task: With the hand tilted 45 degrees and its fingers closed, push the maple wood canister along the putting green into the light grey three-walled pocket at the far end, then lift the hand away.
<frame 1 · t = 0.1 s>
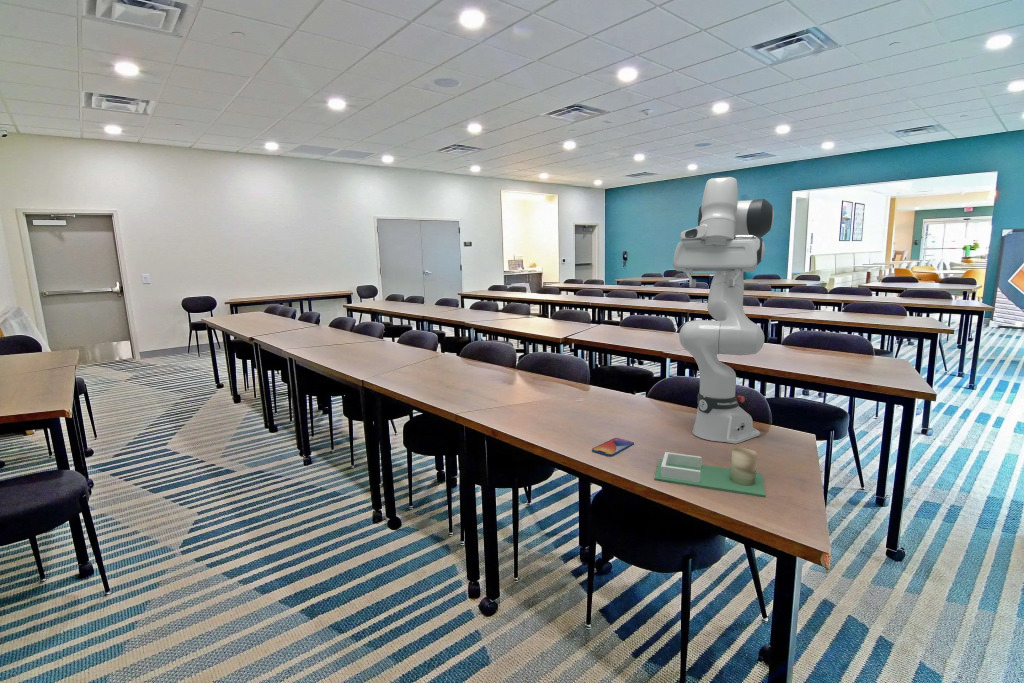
hand: (711, 287, 127), 52 cm above the table, tool tilted 20°, fingers open, 8 cm apart
smartphone: (613, 449, 158), on the table
putting green: (708, 477, 135), on the table
maple canister: (742, 480, 132), point 1 cm above the table, touching putting green
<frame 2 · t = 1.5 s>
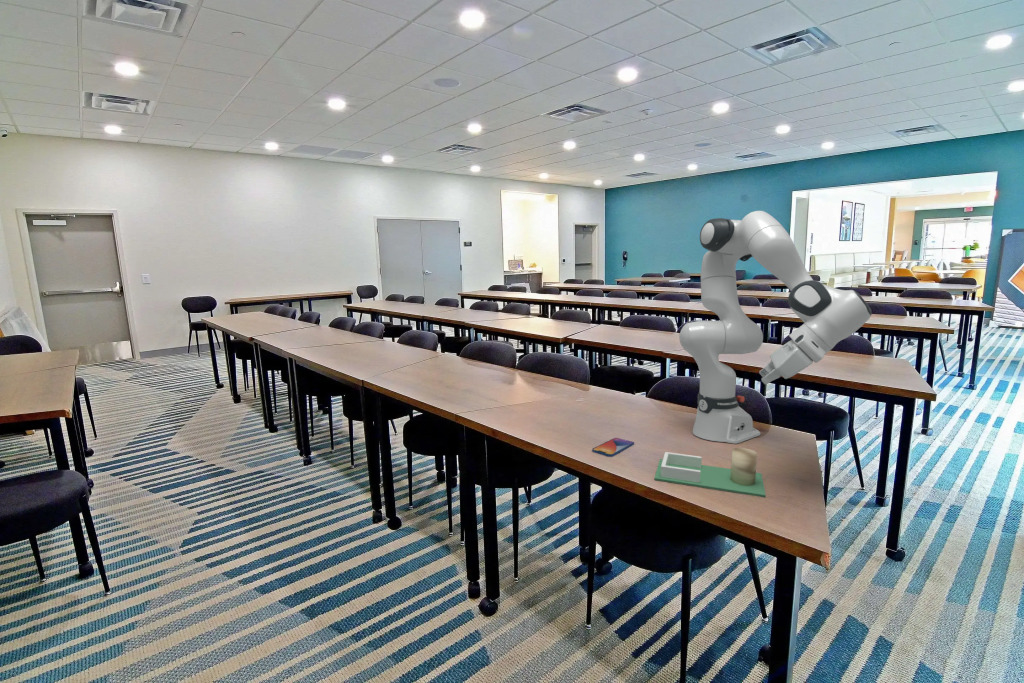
hand: (762, 378, 131), 28 cm above the table, tool tilted 45°, fingers open, 8 cm apart
nothing on the table moved.
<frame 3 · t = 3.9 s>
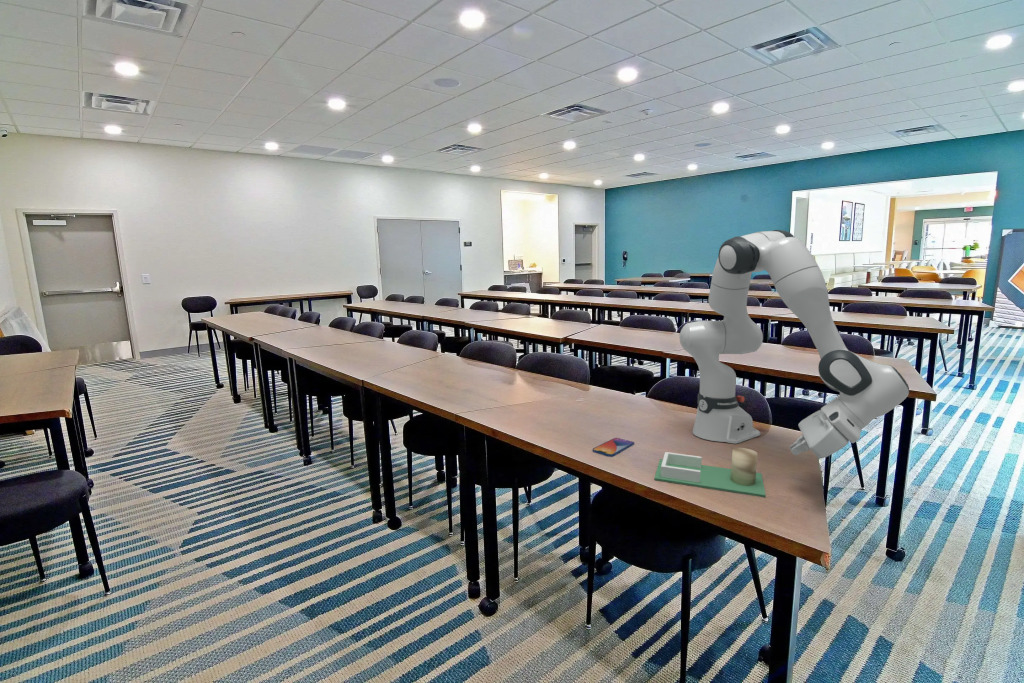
hand: (791, 451, 126), 10 cm above the table, tool tilted 45°, fingers closed
nothing on the table moved.
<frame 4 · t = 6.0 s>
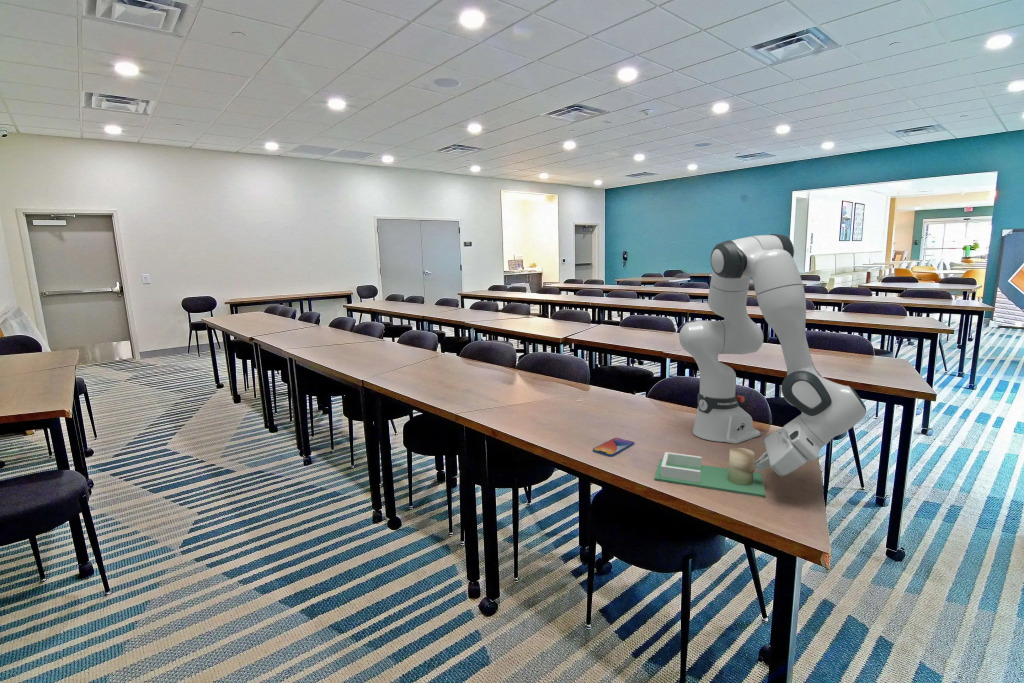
hand: (756, 467, 130), 5 cm above the table, tool tilted 45°, fingers closed, pressing on maple canister
maple canister: (740, 480, 132), point 1 cm above the table, touching gripper
everything else where it was.
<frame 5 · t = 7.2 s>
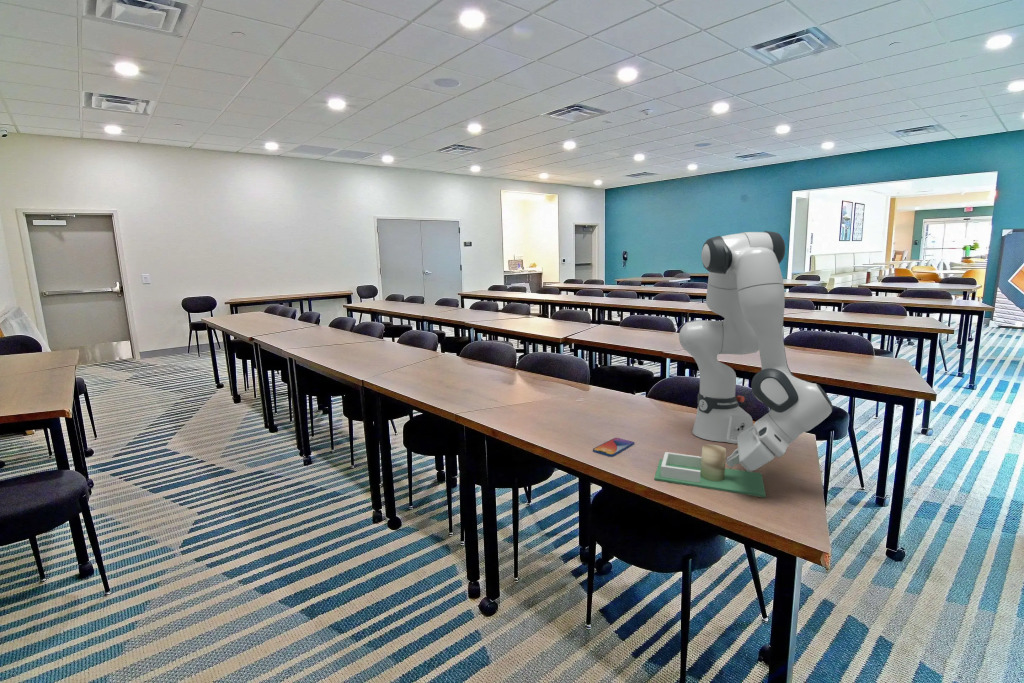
hand: (727, 463, 133), 5 cm above the table, tool tilted 45°, fingers closed
maple canister: (712, 476, 135), point 1 cm above the table, touching putting green
everything else where it was.
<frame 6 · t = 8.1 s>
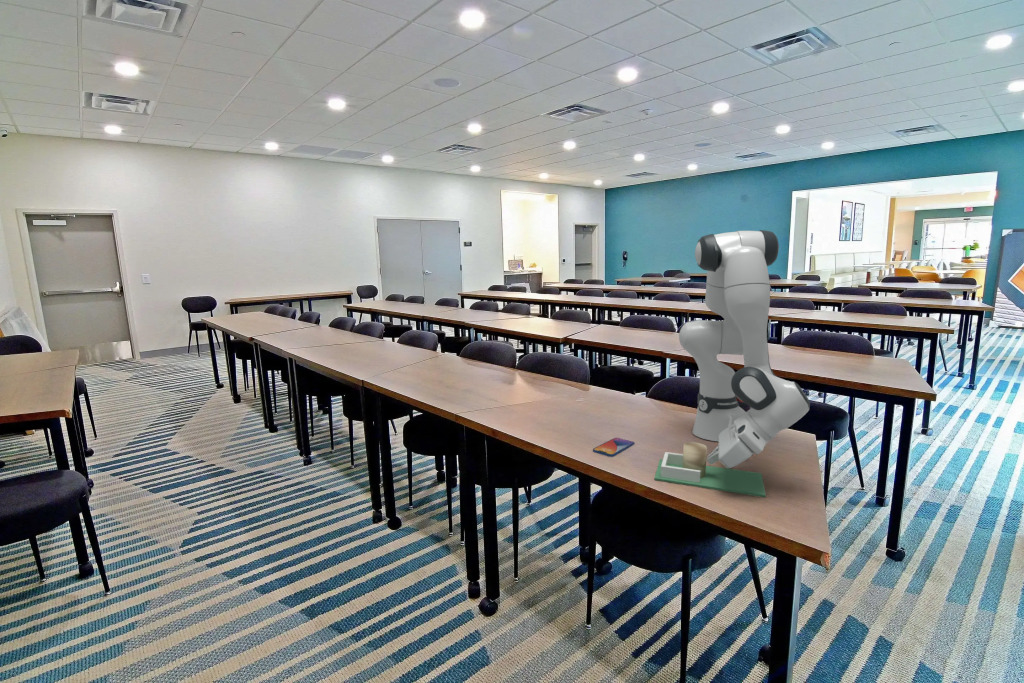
hand: (708, 460, 135), 5 cm above the table, tool tilted 45°, fingers closed
maple canister: (693, 473, 136), point 1 cm above the table, touching putting green
everything else where it was.
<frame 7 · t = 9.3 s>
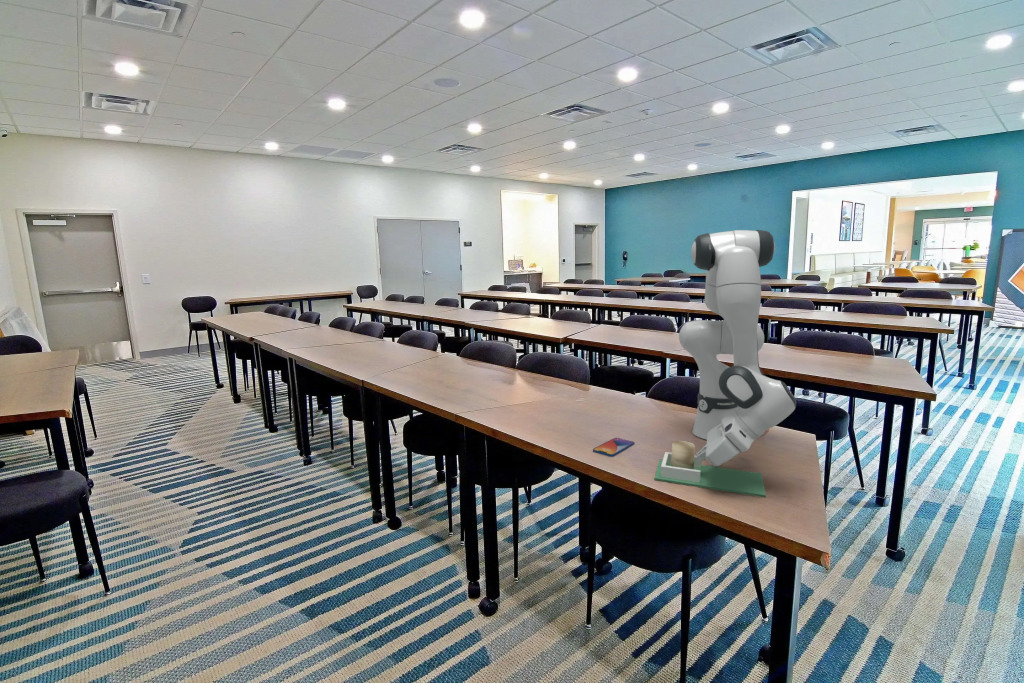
hand: (696, 459, 136), 5 cm above the table, tool tilted 45°, fingers closed
maple canister: (682, 472, 137), point 1 cm above the table, touching putting green
everything else where it was.
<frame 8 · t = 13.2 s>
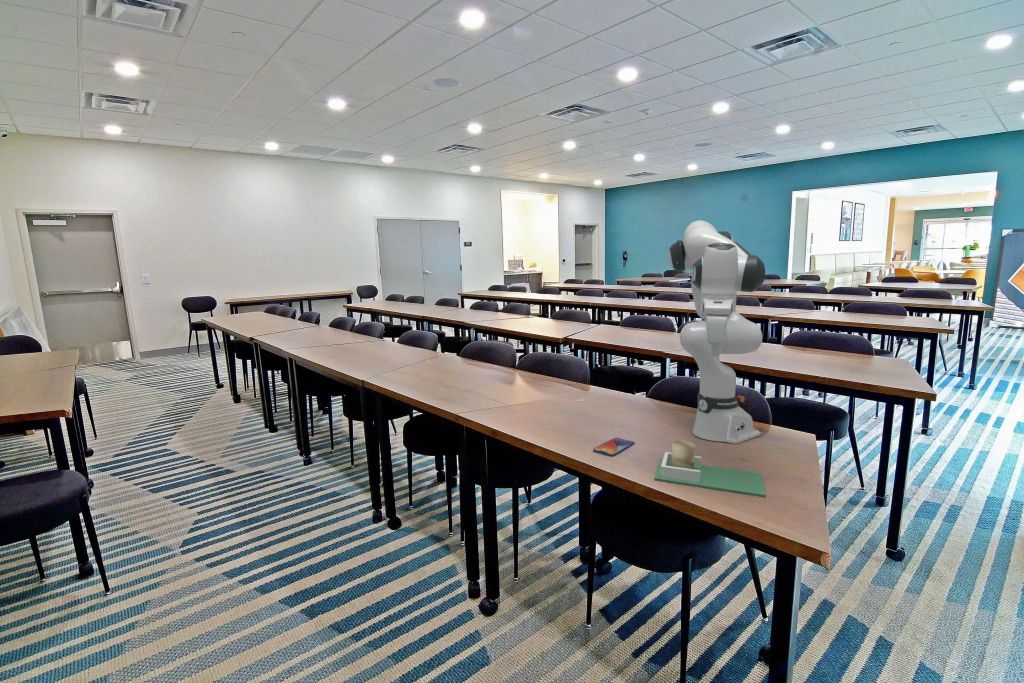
hand: (714, 356, 134), 33 cm above the table, tool pointing down, fingers closed
nothing on the table moved.
at the end: maple canister 0.2 cm from the target spot on the putting green, point 0.6 cm above the putting green's base; maple canister tilted 0°; maple canister moved 15.2 cm from its start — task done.
